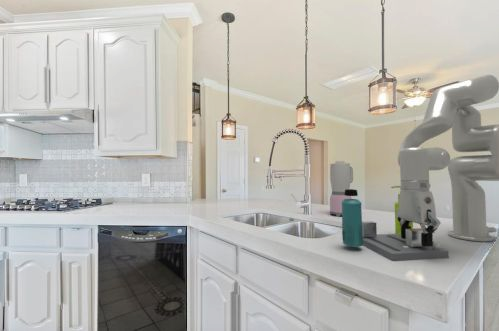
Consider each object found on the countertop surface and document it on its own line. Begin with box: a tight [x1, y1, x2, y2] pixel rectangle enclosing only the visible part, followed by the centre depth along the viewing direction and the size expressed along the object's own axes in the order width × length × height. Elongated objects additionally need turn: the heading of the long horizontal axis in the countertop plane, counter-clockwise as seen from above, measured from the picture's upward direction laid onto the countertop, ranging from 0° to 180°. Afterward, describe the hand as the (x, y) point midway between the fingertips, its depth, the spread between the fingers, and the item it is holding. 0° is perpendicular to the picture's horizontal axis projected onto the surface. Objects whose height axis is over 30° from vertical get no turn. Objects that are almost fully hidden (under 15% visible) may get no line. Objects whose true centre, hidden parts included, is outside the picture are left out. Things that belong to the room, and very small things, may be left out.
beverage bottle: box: [341, 188, 363, 248], centre depth 80 cm, size 6×7×20 cm
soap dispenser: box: [390, 185, 414, 234], centre depth 94 cm, size 6×7×20 cm
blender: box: [329, 160, 354, 218], centre depth 141 cm, size 16×12×32 cm
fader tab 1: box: [362, 220, 378, 237], centre depth 86 cm, size 5×2×5 cm, turn 96°
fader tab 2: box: [406, 227, 423, 247], centre depth 75 cm, size 5×2×5 cm, turn 96°
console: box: [362, 233, 449, 262], centre depth 79 cm, size 18×20×4 cm
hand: (416, 241), depth 74 cm, fingers open, 7 cm apart
